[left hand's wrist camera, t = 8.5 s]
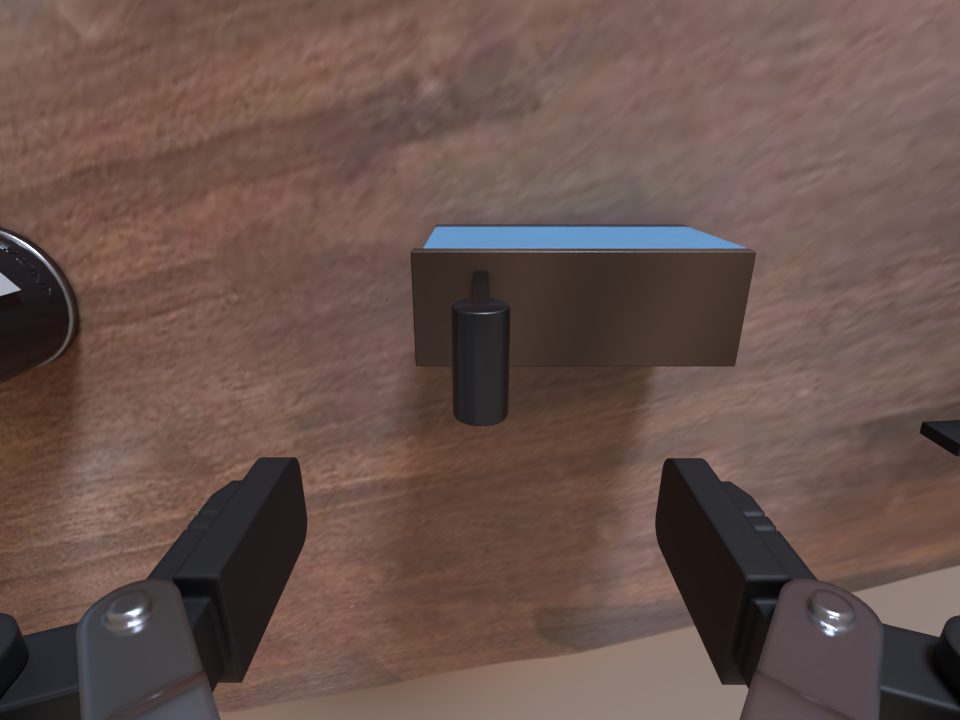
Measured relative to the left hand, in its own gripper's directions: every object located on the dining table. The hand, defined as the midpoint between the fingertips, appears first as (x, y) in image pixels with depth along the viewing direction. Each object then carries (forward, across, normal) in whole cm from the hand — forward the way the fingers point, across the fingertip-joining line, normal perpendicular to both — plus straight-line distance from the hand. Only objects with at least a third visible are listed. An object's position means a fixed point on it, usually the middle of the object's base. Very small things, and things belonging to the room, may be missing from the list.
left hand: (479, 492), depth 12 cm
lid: (+15, -5, 0) cm, 16 cm away
